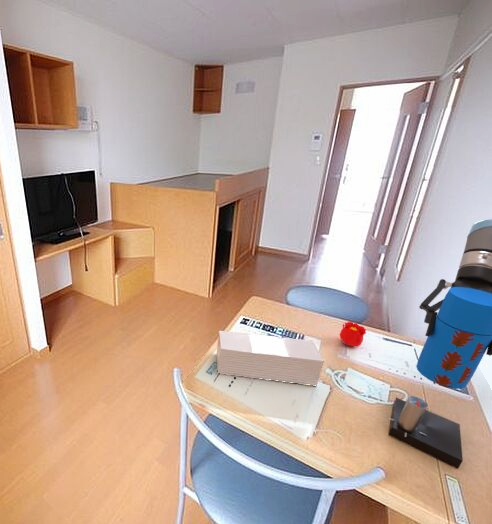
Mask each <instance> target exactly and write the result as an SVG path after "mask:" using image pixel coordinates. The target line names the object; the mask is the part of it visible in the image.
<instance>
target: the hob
mask: <svg viewBox="0 0 492 524" xmlns="http://www.w3.org/2000/svg"><path fill="white" fill-rule="evenodd" d="M406 401H407V400H406ZM406 401H405V400H403V399H401V398H399V397H395V400H394V402H393V404H392V409H391V415H390V417H387V419H388V420H390V423H389V428H388V436H389V437H392V438H394V439H396V440H397V441H400V442H402V443H404V444H406V445H408V446H411V447H413V448H414V449H416V450H419V451H420V452H422V453H424V454H427V455H429V456H431V457H433V458H434V459H437V460H439V461H441V462H443V463H445V464H447V465H450V466H451V467H453V468H455V469H459V468H460V466H461V465H462V463H463V462H464V460H463V447H462V435H461V424H460V423H458V422H455V421H453V420H451V419H448V418H446V417H443V416H442V415H439V414H437V413H435V412H432V411H430V410H427V409H426V411H425V413H424V416H423V418H422V420H421V422H420V424H419V426H418V428H417V430H416V432H414V433H410V432H407V431H405V430H403V429H402V428H401V427H400V426H399V425H398V423H397V421H398V419H399V417H400V415H401V413H402V410H403V408H404V406H405V404H406Z"/></svg>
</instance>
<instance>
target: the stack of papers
mask: <svg viewBox="0 0 492 524" xmlns="http://www.w3.org/2000/svg"><path fill="white" fill-rule="evenodd" d="M217 338H218V339H217V345H216V346H217V347H216V352H215V353H216V354H215V355H216V369H217V370H218V372H217V374H218V373H220V374H219V375H223V374H226V375H225V376H231V375H235V376H234V377H238V376H244V377H243V378H245V377H252V378H251V379H253V378H262V379H271V380H278V381H285V382H293V383H300V384H310V385H316V386H317V387H318V384H319V380H320V376H321V373H322V370H323V368H324V367H323V366H324V362H325V360H324V359H323V357H322V355H321V353H320V351H319V349H318V347H317V345H316V343H315V341H314V340H308V339H300V338H299V339H298V338H292V337H291V338H290V337H281V336H272V335H264V334H255V333H246V332H236V331H228V330H227V331H226V330H218V337H217Z"/></svg>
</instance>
